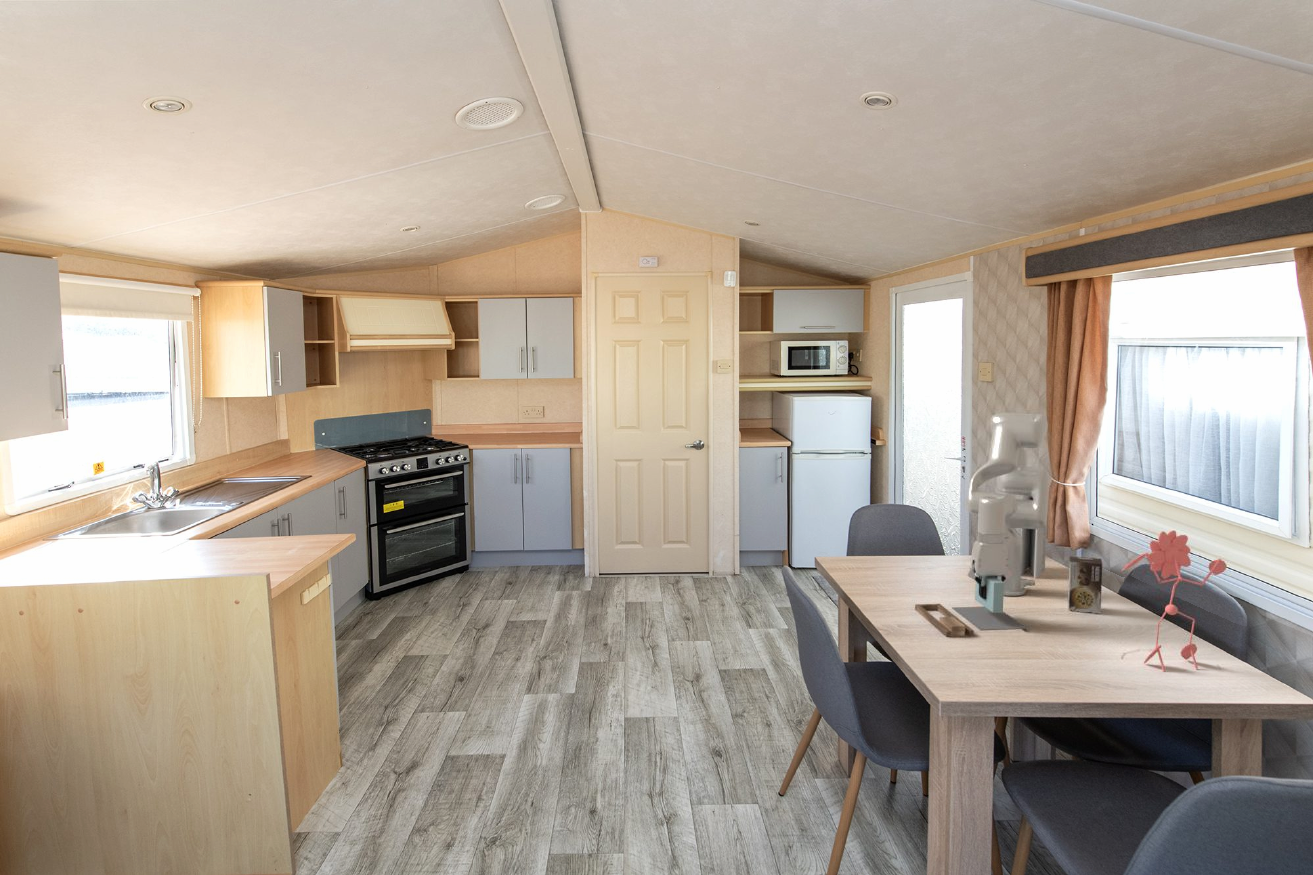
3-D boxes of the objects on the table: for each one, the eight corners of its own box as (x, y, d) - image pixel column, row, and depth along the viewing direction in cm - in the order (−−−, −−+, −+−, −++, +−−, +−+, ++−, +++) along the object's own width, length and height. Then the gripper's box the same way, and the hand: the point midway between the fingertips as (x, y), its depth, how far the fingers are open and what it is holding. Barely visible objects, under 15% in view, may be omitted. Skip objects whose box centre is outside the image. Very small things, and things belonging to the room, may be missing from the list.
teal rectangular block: (984, 599, 254) (985, 571, 253) (1002, 612, 242) (1004, 582, 241) (974, 599, 254) (975, 571, 253) (992, 612, 242) (994, 582, 241)
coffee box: (1099, 608, 258) (1102, 558, 257) (1100, 614, 253) (1103, 563, 251) (1067, 604, 262) (1069, 555, 260) (1067, 611, 256) (1070, 560, 255)
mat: (995, 609, 259) (995, 606, 259) (1027, 631, 239) (1027, 628, 239) (951, 610, 258) (951, 607, 258) (980, 632, 238) (980, 629, 238)
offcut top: (952, 621, 241) (952, 616, 241) (965, 631, 233) (965, 625, 233) (939, 622, 241) (939, 617, 241) (951, 631, 233) (951, 626, 233)
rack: (939, 611, 257) (939, 603, 257) (973, 638, 234) (973, 630, 233) (915, 612, 257) (915, 604, 257) (946, 639, 233) (946, 631, 233)
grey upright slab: (1035, 578, 291) (1039, 495, 288) (1019, 576, 294) (1022, 493, 291) (1044, 569, 302) (1048, 489, 299) (1028, 567, 306) (1032, 487, 302)
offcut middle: (952, 626, 242) (952, 621, 241) (964, 636, 234) (964, 630, 233) (939, 627, 241) (939, 622, 241) (950, 636, 233) (950, 631, 233)
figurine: (1230, 668, 210) (1237, 534, 207) (1136, 674, 208) (1141, 538, 204) (1185, 648, 226) (1191, 522, 222) (1097, 653, 223) (1101, 526, 219)
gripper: (1011, 534, 250) (1009, 593, 252) (958, 535, 249) (957, 594, 251) (1023, 540, 242) (1021, 600, 244) (969, 541, 241) (967, 602, 244)
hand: (988, 597), depth 248 cm, fingers closed on teal rectangular block, 3 cm apart
